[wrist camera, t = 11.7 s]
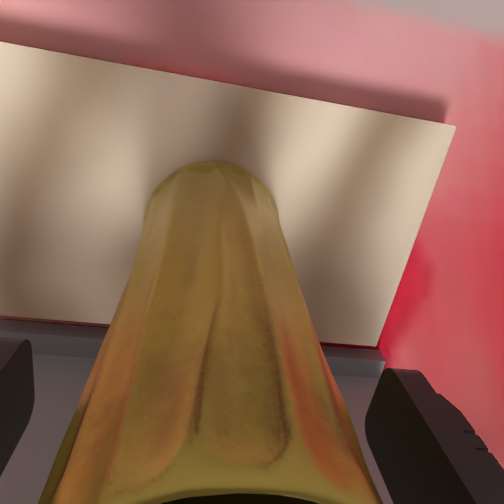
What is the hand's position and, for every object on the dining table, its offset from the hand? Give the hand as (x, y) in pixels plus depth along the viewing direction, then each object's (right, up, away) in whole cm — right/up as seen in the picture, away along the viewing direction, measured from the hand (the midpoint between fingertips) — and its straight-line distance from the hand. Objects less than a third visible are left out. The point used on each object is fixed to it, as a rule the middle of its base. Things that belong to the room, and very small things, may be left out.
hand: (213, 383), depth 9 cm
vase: (-1, +4, +9) cm, 10 cm away
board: (-1, +5, +10) cm, 11 cm away
